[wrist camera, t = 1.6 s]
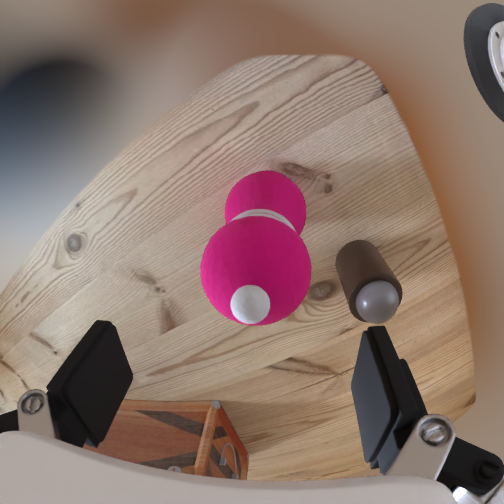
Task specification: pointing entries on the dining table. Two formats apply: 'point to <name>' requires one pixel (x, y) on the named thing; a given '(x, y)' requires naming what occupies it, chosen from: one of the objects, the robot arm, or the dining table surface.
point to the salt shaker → (368, 282)
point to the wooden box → (176, 438)
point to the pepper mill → (259, 252)
